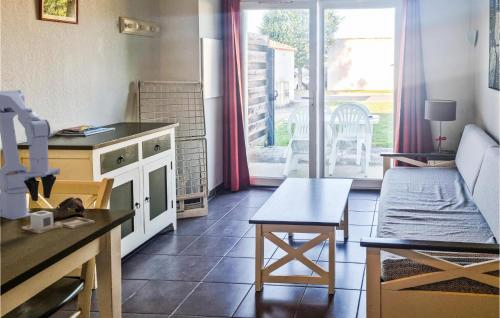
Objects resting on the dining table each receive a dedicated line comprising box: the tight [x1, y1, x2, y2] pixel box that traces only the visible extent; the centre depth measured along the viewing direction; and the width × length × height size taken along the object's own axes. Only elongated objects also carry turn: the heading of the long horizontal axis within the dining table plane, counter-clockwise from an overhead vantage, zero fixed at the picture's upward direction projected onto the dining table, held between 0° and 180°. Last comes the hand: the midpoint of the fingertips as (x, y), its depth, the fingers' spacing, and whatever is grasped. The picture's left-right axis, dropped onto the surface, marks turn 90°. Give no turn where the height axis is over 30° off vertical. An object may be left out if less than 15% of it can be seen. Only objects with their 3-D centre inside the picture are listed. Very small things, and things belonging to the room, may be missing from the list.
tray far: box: [54, 216, 95, 230], centre depth 211 cm, size 9×9×1 cm
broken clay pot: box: [55, 196, 88, 219], centre depth 220 cm, size 12×10×8 cm
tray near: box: [21, 222, 63, 234], centre depth 205 cm, size 9×9×1 cm
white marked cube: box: [29, 210, 54, 231], centre depth 204 cm, size 5×5×5 cm
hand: (40, 199), depth 203 cm, fingers open, 4 cm apart
